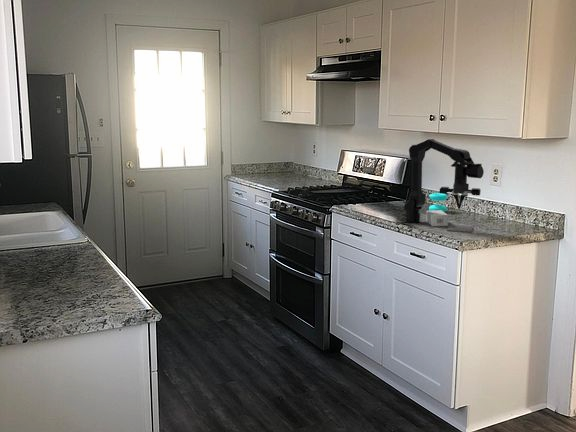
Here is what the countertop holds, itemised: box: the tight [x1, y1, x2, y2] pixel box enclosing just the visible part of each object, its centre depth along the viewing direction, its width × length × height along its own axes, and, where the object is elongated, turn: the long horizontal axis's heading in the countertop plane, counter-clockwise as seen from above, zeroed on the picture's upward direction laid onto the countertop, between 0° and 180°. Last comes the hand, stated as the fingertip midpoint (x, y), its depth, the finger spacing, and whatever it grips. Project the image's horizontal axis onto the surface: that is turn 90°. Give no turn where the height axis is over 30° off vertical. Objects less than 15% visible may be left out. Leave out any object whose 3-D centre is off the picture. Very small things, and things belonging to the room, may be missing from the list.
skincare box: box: [425, 209, 449, 227], centre depth 305 cm, size 8×6×15 cm
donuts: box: [428, 192, 449, 213], centre depth 343 cm, size 10×10×10 cm
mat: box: [446, 224, 474, 234], centre depth 293 cm, size 11×14×1 cm
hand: (458, 208), depth 291 cm, fingers closed
